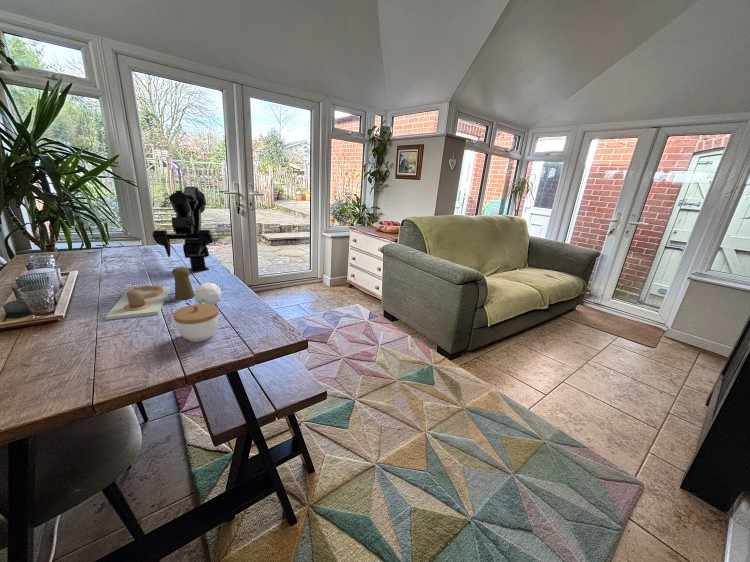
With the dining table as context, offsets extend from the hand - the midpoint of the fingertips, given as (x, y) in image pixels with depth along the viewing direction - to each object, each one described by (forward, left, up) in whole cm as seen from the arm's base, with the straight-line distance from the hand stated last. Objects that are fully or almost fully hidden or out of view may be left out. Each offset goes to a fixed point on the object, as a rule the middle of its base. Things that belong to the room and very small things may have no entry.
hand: (183, 256), depth 111 cm
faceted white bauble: (+20, -2, -13) cm, 25 cm away
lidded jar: (+38, -12, -13) cm, 43 cm away
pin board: (+3, -15, -13) cm, 21 cm away
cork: (+6, -4, -13) cm, 15 cm away
